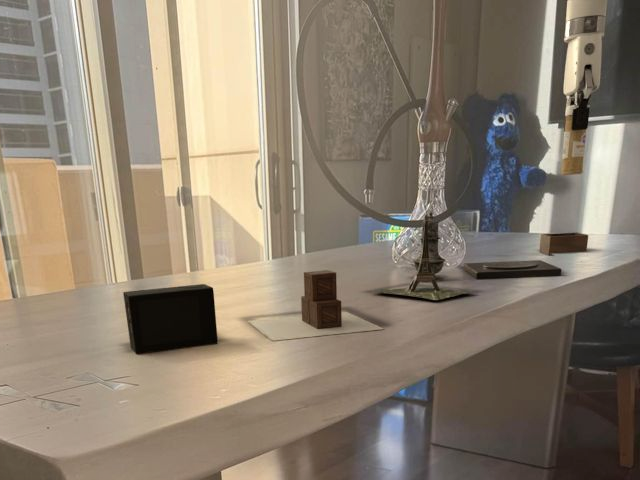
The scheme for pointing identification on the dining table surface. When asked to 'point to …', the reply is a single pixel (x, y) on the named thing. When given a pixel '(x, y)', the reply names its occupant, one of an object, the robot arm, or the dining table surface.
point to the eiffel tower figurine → (424, 278)
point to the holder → (563, 243)
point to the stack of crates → (315, 313)
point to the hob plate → (511, 269)
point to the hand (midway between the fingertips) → (575, 129)
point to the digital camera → (171, 318)
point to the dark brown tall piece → (431, 248)
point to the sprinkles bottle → (572, 147)
